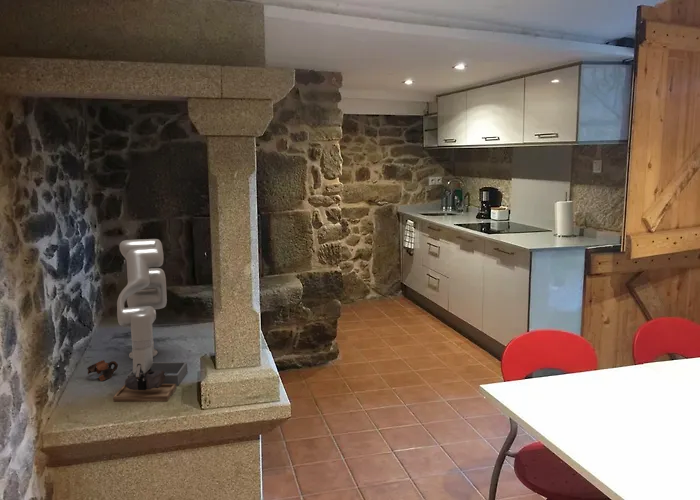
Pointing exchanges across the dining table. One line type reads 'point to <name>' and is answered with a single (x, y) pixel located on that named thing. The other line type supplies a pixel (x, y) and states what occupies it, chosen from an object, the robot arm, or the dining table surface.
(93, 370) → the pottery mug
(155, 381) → the perforated stone tool
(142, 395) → the walnut tray
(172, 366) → the charcoal bin
